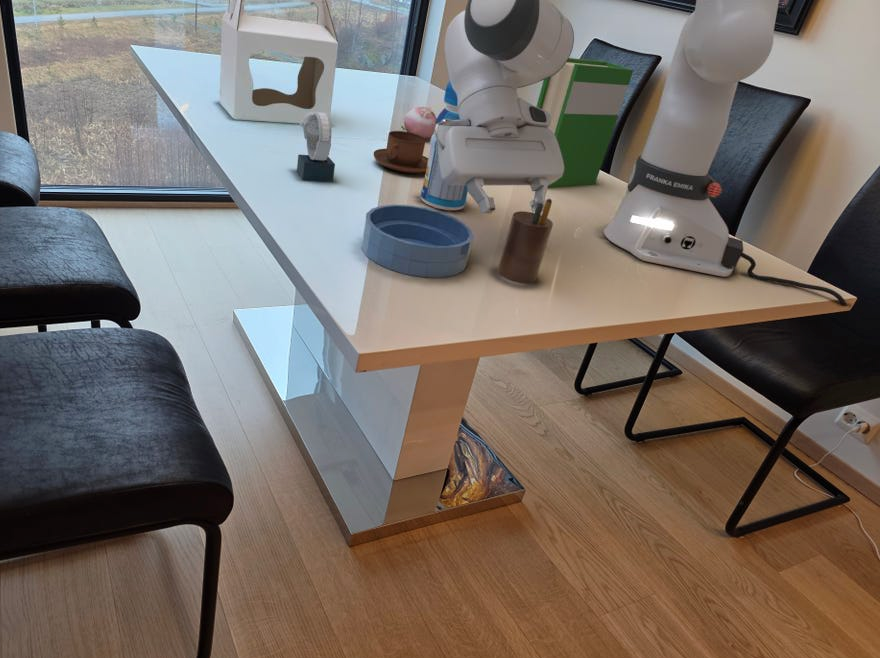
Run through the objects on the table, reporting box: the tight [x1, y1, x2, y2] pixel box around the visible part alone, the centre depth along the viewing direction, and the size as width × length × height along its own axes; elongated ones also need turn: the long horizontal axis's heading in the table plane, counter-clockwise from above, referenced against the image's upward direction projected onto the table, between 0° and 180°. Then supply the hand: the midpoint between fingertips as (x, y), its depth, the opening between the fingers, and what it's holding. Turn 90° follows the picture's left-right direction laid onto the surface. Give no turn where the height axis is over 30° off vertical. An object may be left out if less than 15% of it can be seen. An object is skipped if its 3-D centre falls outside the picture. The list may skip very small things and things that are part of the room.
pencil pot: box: [497, 198, 554, 284], centre depth 93 cm, size 6×6×12 cm
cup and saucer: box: [373, 130, 429, 174], centre depth 132 cm, size 12×12×6 cm
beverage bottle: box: [420, 80, 468, 211], centre depth 114 cm, size 8×8×20 cm
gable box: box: [219, 0, 339, 125], centre depth 144 cm, size 22×13×28 cm, turn 115°
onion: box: [400, 106, 437, 140], centre depth 155 cm, size 8×8×7 cm
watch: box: [296, 112, 336, 182], centre depth 116 cm, size 6×8×11 cm
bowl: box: [361, 204, 474, 279], centre depth 95 cm, size 15×15×5 cm
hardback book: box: [535, 57, 634, 188], centre depth 140 cm, size 18×7×24 cm, turn 126°
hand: (514, 211), depth 95 cm, fingers open, 8 cm apart
